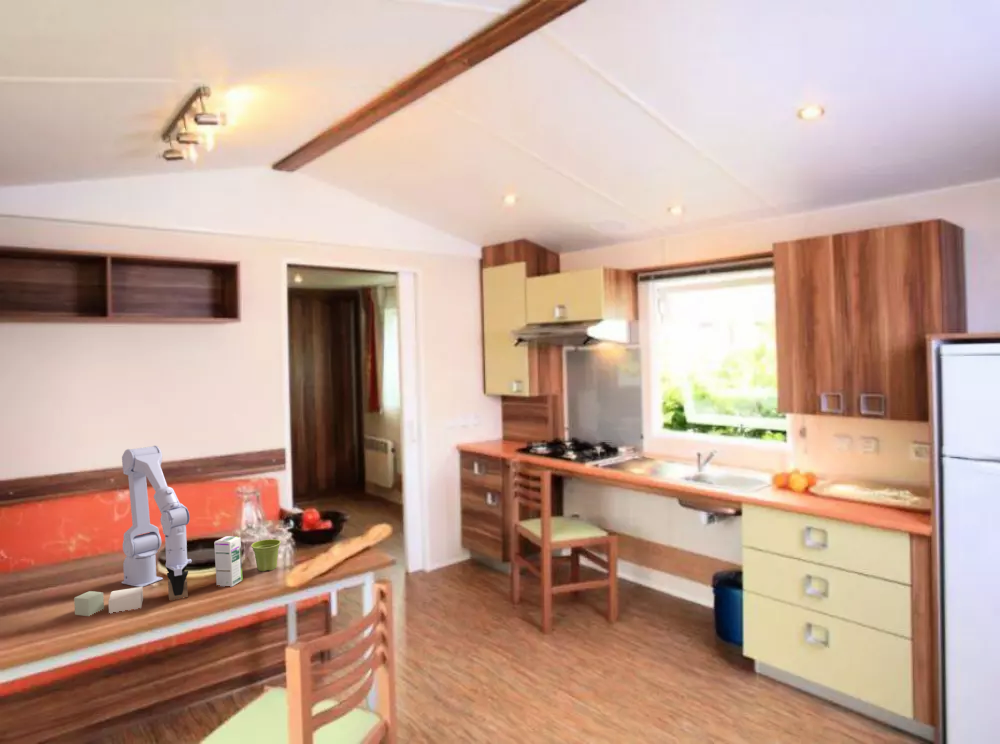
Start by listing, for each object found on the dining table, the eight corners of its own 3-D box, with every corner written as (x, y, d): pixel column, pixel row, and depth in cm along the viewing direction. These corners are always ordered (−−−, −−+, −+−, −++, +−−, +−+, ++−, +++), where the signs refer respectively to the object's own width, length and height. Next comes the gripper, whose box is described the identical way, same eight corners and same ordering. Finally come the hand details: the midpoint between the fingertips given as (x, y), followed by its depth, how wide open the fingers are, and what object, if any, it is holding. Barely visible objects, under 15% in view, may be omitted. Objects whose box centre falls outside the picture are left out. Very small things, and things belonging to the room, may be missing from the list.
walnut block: (168, 595, 197) (167, 579, 196) (186, 592, 199) (186, 576, 199) (169, 600, 192) (168, 584, 192) (187, 597, 195) (187, 581, 194)
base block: (112, 604, 191) (111, 591, 191) (143, 599, 194) (142, 586, 194) (109, 614, 184) (108, 600, 184) (141, 609, 187) (140, 595, 187)
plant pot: (268, 574, 213) (267, 549, 213) (246, 571, 216) (245, 546, 216) (287, 565, 222) (286, 540, 221) (265, 562, 225) (264, 538, 225)
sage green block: (74, 614, 184) (74, 597, 183) (90, 607, 188) (89, 591, 188) (89, 616, 182) (88, 599, 182) (104, 609, 187) (103, 592, 187)
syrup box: (232, 587, 202) (230, 541, 202) (215, 586, 204) (213, 540, 203) (243, 580, 208) (241, 536, 207) (226, 579, 209) (225, 535, 209)
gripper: (192, 551, 191) (194, 597, 191) (189, 539, 203) (190, 581, 204) (165, 556, 187) (167, 602, 188) (164, 542, 200) (165, 586, 200)
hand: (177, 591), depth 196 cm, fingers closed on walnut block, 5 cm apart
